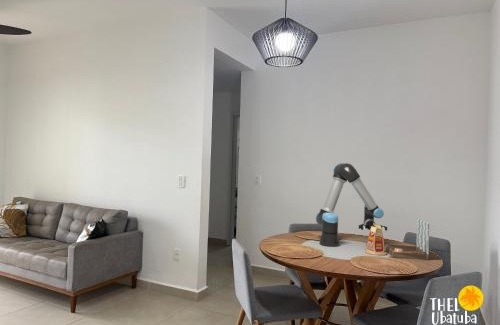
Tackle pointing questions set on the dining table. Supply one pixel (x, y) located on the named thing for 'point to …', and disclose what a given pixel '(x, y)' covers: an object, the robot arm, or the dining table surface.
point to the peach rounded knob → (397, 250)
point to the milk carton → (375, 239)
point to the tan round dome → (375, 253)
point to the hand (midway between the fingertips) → (374, 229)
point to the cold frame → (420, 247)
